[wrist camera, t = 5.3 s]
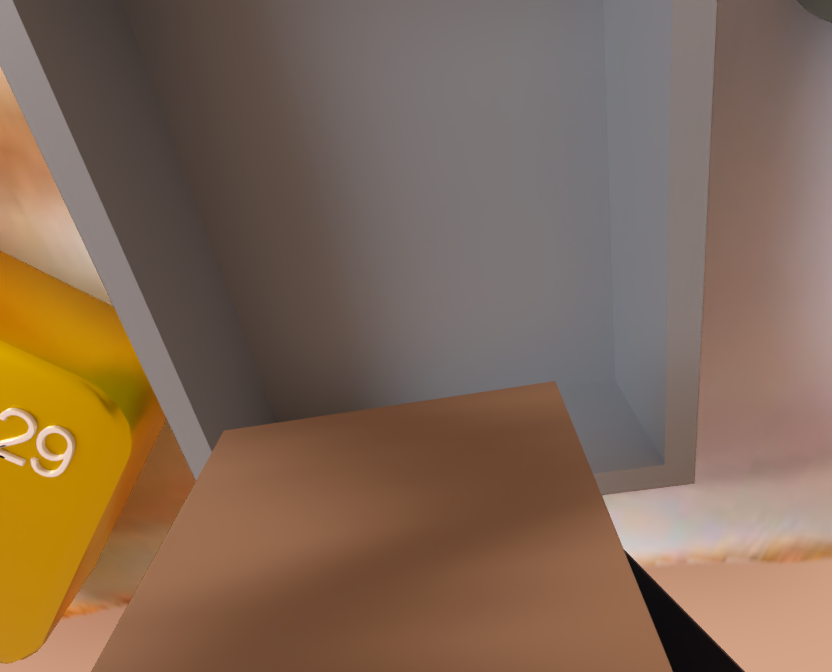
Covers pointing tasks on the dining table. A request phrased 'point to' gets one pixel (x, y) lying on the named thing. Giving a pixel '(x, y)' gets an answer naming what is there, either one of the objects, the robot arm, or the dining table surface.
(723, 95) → the dining table surface
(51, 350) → the element tile
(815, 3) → the teal cylinder
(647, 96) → the tote
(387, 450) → the walnut cube
